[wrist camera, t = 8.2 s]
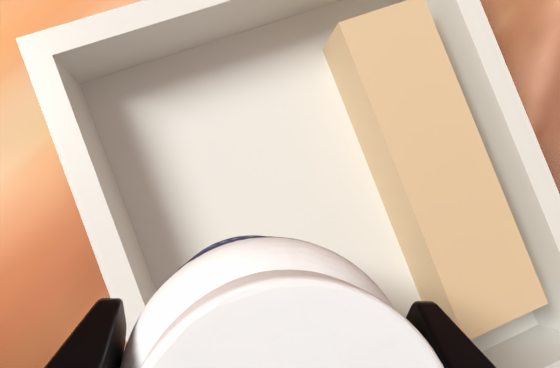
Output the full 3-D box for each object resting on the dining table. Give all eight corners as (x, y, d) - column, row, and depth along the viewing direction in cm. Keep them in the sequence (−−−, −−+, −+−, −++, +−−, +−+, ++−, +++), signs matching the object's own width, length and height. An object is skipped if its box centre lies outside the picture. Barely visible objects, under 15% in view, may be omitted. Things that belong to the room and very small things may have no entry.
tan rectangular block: (431, 326, 22) (465, 342, 19) (322, 49, 22) (338, 22, 19) (504, 293, 22) (548, 303, 19) (396, 24, 23) (423, -6, 20)
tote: (210, 493, 21) (208, 565, 16) (57, 77, 22) (15, 38, 17) (548, 331, 24) (625, 355, 19) (401, -31, 24) (442, -89, 20)
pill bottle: (351, 261, 16) (551, 308, 7) (305, 427, 16) (454, 763, 6) (192, 212, 16) (151, 184, 6) (137, 382, 15) (-15, 669, 5)
